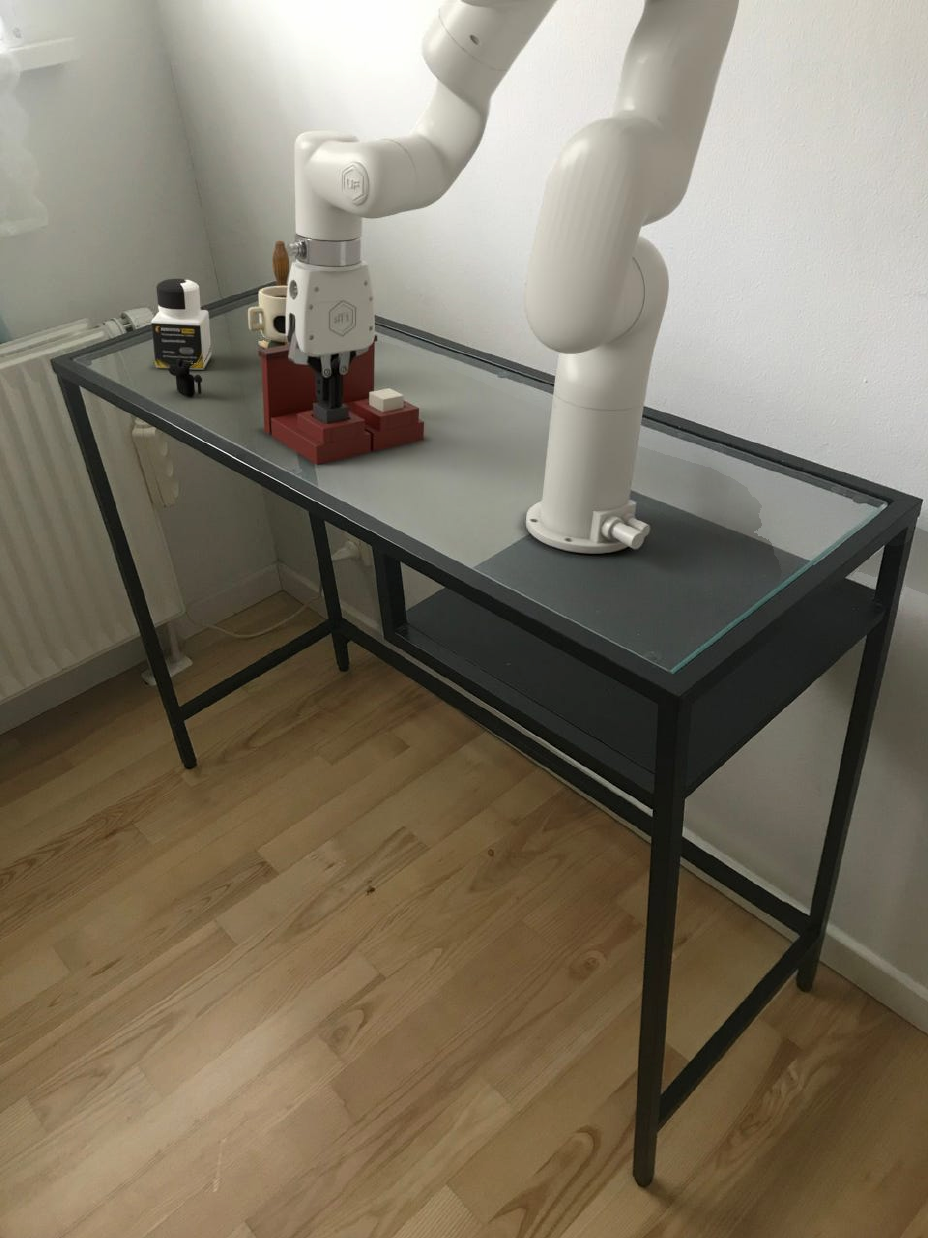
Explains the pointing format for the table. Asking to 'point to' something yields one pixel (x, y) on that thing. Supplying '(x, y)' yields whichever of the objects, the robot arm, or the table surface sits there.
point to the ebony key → (330, 413)
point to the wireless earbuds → (185, 378)
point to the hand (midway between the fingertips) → (329, 403)
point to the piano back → (307, 382)
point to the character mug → (271, 315)
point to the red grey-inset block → (322, 436)
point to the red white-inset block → (389, 424)
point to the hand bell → (279, 270)
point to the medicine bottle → (180, 325)
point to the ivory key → (386, 400)
